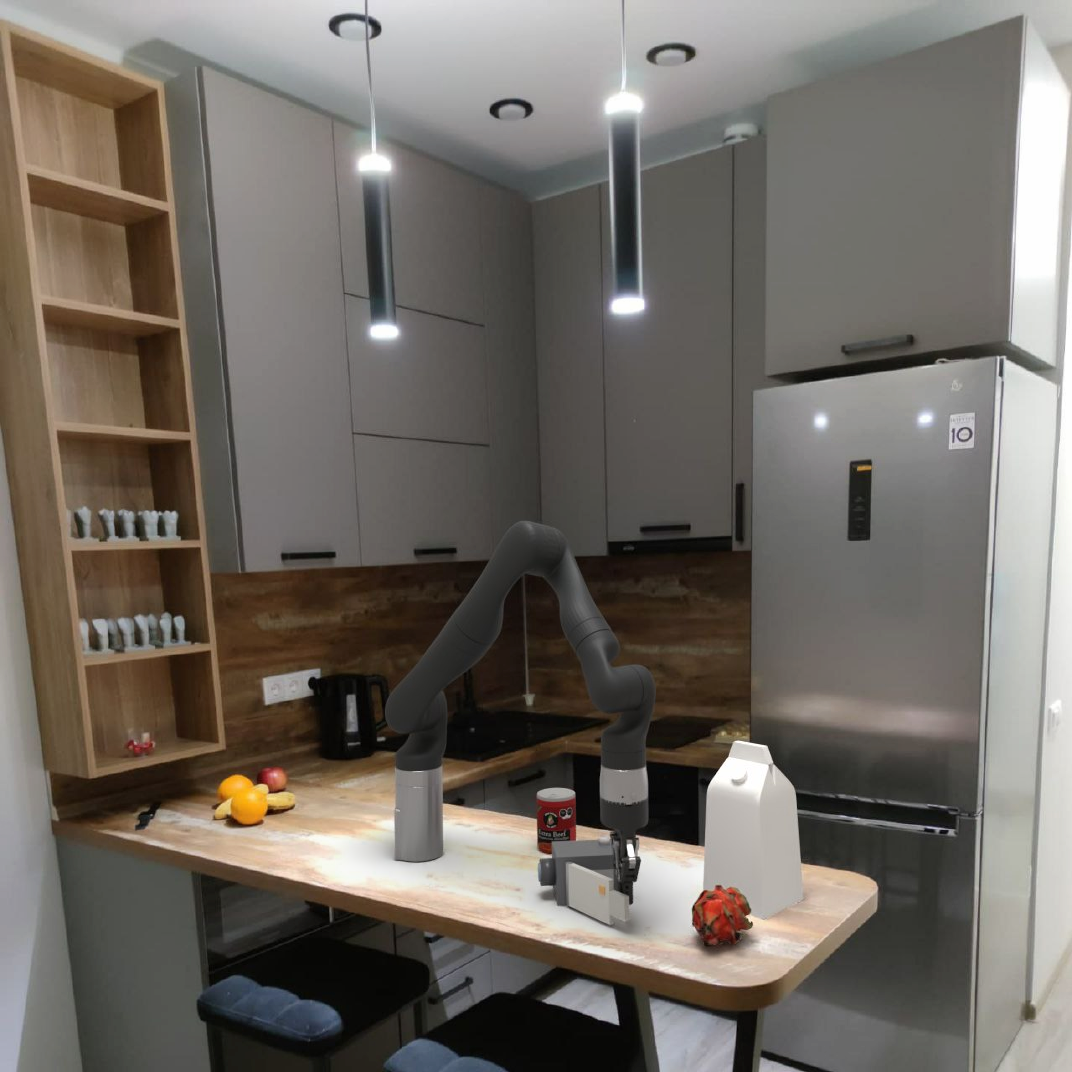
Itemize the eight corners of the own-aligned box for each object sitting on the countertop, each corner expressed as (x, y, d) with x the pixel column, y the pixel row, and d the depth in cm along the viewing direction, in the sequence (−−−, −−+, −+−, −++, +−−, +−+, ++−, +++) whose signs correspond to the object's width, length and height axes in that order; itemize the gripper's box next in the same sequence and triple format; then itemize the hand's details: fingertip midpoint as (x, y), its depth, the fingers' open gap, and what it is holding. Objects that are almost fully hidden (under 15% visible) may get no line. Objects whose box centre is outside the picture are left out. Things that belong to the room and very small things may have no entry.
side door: (564, 904, 144) (563, 863, 145) (570, 902, 145) (569, 861, 145) (623, 932, 133) (623, 887, 134) (630, 930, 134) (629, 885, 134)
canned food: (532, 853, 171) (531, 796, 171) (544, 840, 178) (543, 786, 178) (569, 857, 168) (568, 799, 168) (580, 843, 176) (580, 788, 176)
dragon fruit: (744, 936, 136) (711, 978, 127) (701, 896, 140) (665, 933, 130) (772, 902, 132) (739, 942, 123) (727, 861, 136) (692, 897, 127)
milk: (803, 900, 146) (800, 744, 147) (763, 919, 139) (760, 755, 139) (743, 880, 155) (741, 733, 156) (702, 897, 148) (700, 743, 148)
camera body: (541, 906, 145) (540, 852, 145) (536, 888, 153) (536, 836, 153) (628, 902, 146) (627, 848, 146) (619, 884, 154) (619, 833, 154)
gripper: (593, 782, 143) (595, 887, 144) (607, 807, 130) (609, 923, 130) (638, 780, 144) (640, 884, 144) (657, 805, 131) (658, 920, 131)
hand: (625, 902), depth 137 cm, fingers closed
